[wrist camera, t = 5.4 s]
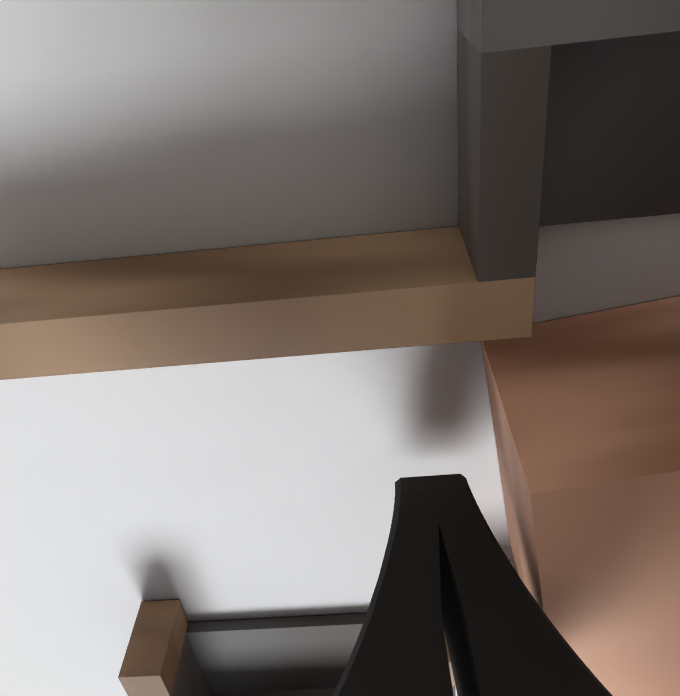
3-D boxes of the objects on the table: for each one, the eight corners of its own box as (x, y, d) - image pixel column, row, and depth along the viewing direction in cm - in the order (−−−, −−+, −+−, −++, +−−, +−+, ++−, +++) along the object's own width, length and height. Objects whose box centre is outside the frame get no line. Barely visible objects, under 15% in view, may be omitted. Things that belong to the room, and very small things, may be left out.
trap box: (185, 699, 19) (165, 793, 17) (-117, 34, 9) (-253, 66, 7) (775, 673, 18) (831, 771, 16) (1163, -123, 8) (1449, -138, 6)
